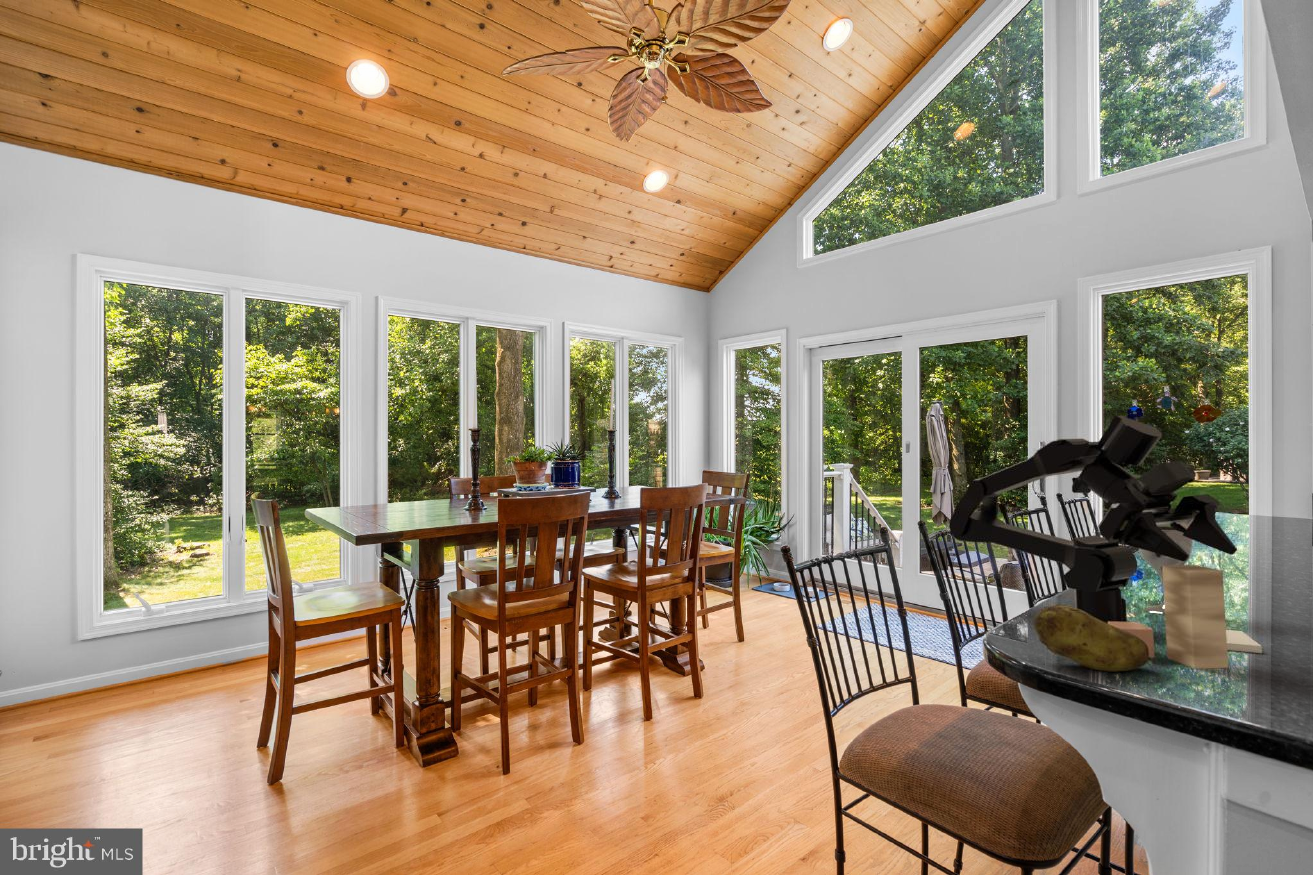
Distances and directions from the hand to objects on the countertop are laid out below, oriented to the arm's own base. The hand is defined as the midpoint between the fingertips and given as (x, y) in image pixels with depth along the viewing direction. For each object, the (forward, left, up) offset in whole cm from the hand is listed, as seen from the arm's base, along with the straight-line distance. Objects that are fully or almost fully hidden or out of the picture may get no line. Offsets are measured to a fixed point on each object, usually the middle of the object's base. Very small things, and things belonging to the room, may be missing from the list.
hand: (1211, 555), depth 89 cm
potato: (-16, -12, -14) cm, 25 cm away
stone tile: (+2, +7, -14) cm, 16 cm away
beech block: (-3, -5, -14) cm, 15 cm away
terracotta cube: (-10, -3, -14) cm, 18 cm away
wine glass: (0, +26, -14) cm, 30 cm away
